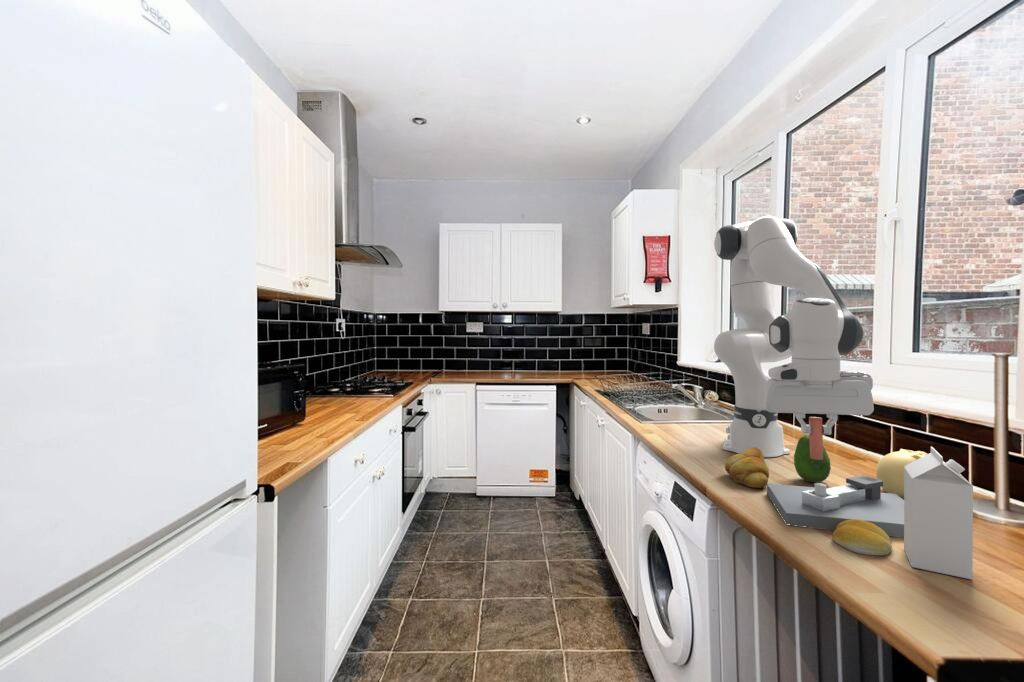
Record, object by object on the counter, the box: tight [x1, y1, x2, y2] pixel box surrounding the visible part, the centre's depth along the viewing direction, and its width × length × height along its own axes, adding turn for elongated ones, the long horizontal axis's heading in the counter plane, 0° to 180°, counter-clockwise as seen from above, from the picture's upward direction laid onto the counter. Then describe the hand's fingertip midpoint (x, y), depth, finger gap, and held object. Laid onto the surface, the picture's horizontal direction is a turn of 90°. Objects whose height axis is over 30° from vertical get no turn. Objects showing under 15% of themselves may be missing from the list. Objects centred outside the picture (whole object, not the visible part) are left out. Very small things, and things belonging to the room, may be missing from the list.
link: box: [802, 483, 865, 512], centre depth 92 cm, size 13×5×2 cm, turn 108°
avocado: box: [793, 434, 832, 483], centre depth 111 cm, size 8×8×12 cm
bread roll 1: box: [724, 447, 770, 489], centre depth 113 cm, size 13×10×8 cm
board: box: [766, 475, 904, 538], centre depth 92 cm, size 17×25×7 cm
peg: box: [808, 416, 824, 460], centre depth 97 cm, size 2×2×9 cm
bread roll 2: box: [832, 519, 893, 556], centre depth 80 cm, size 8×9×4 cm
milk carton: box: [903, 446, 974, 580], centre depth 73 cm, size 7×7×19 cm
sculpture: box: [875, 448, 928, 499], centre depth 101 cm, size 11×12×11 cm
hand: (816, 433), depth 97 cm, fingers closed on peg, 2 cm apart
